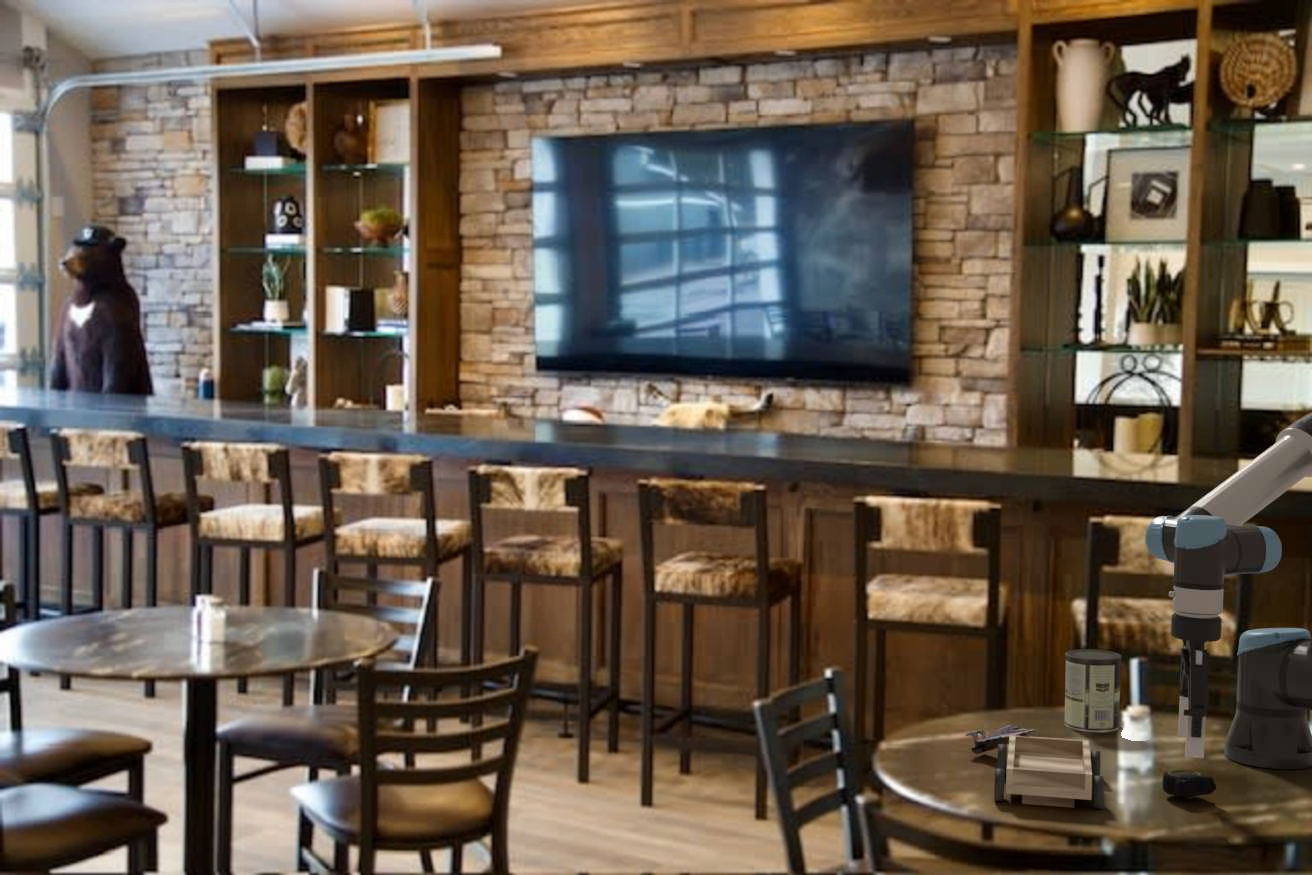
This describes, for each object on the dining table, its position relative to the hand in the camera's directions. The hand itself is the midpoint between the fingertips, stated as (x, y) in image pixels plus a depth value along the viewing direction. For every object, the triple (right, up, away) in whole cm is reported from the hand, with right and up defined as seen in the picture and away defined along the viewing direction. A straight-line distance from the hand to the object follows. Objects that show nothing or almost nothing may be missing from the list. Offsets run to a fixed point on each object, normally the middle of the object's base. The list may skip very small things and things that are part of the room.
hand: (1190, 746), depth 257 cm
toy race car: (-25, -8, +28) cm, 38 cm away
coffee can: (-2, -6, +51) cm, 51 cm away
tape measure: (0, -9, +1) cm, 9 cm away
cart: (-21, -9, +8) cm, 24 cm away
